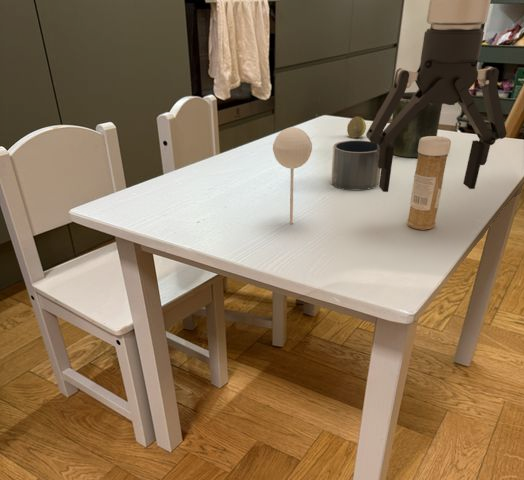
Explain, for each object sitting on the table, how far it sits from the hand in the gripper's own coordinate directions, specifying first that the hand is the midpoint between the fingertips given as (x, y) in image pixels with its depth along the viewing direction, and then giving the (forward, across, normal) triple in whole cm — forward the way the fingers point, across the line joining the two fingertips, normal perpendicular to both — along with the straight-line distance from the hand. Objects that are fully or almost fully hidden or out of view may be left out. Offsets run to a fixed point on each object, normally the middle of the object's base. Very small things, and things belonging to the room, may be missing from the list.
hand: (426, 187), depth 78 cm
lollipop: (+7, +21, -3) cm, 22 cm away
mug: (+6, -10, -44) cm, 46 cm away
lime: (+6, -2, -60) cm, 60 cm away
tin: (+6, +6, -23) cm, 25 cm away
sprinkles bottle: (+6, 0, 0) cm, 6 cm away
